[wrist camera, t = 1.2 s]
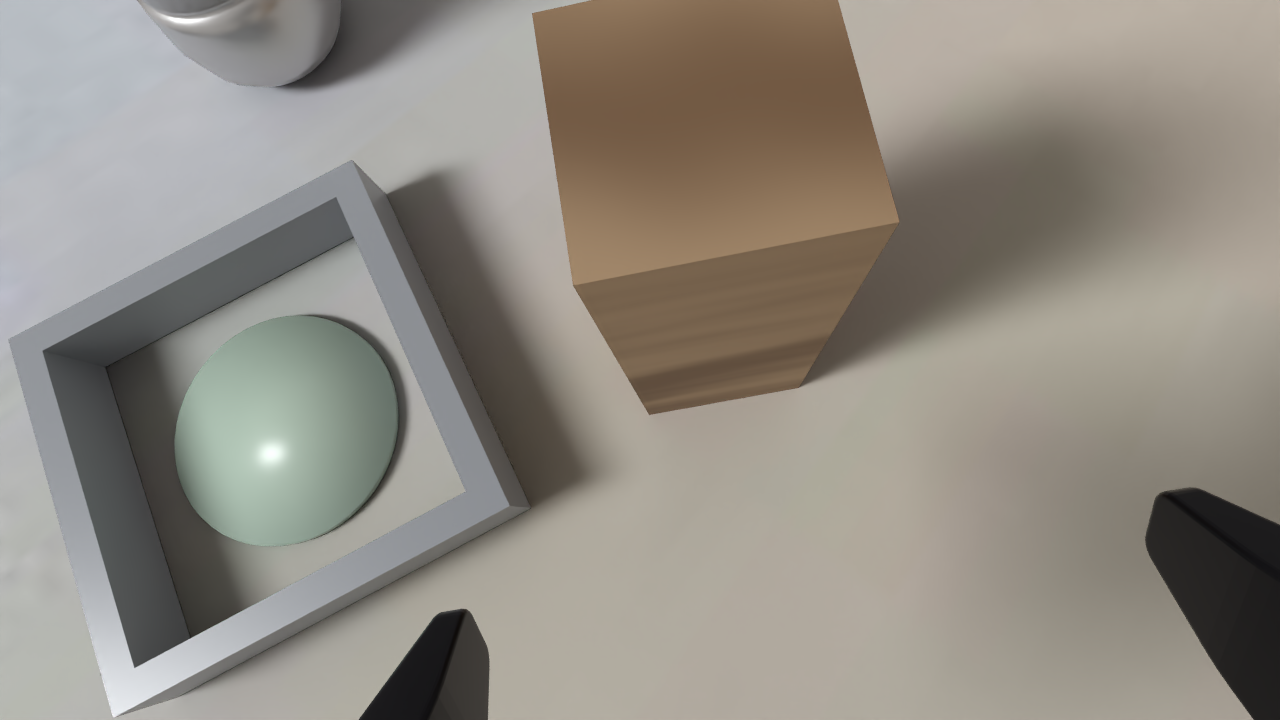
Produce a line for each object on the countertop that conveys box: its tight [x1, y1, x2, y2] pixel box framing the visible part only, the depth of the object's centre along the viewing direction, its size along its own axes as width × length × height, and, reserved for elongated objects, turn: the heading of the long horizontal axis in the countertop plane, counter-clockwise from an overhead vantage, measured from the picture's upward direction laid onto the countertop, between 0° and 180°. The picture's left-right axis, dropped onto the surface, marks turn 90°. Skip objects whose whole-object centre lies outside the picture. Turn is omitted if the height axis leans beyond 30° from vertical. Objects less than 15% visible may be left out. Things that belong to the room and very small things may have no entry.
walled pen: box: [8, 160, 531, 718], centre depth 23 cm, size 13×13×2 cm
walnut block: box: [532, 0, 900, 415], centre depth 18 cm, size 5×5×13 cm
